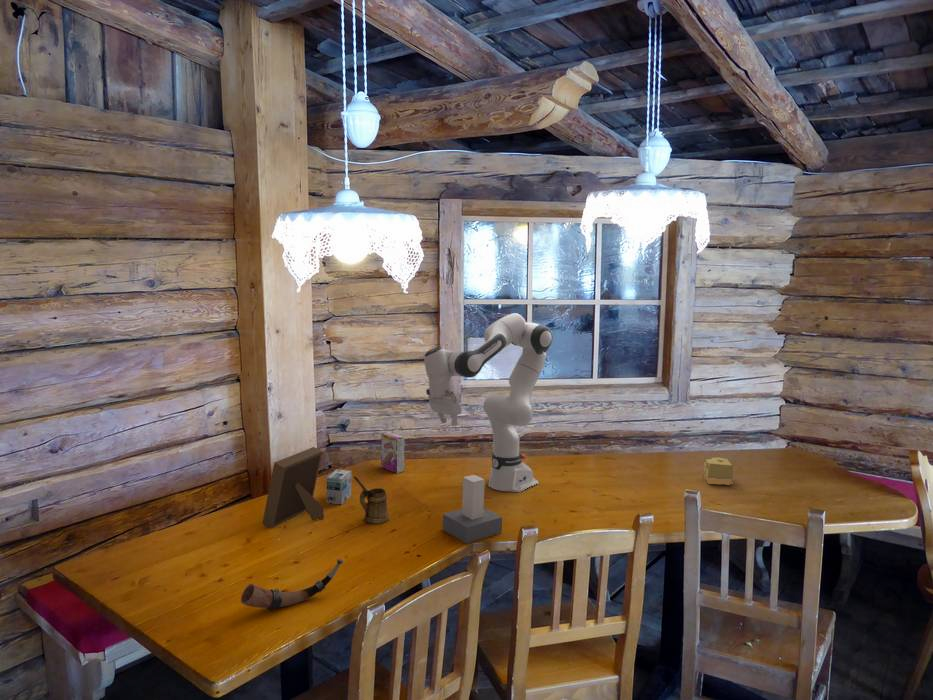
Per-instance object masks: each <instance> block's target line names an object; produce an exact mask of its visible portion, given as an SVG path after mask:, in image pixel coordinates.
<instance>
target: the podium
mask: <svg viewBox="0 0 933 700" xmlns="http://www.w3.org/2000/svg"><path fill="white" fill-rule="evenodd" d="M502 529H503V516H501V515H499V514H497V513H495V512H493V511H491V510H489V509H487V508H485V507H484V512H483V517H481V518H477V519H474V520H472V519H470V518H468V517H466V516H464V515H462V508H460V509H457V510H454V511H450V512H445V513H443V515H442V530H443V531H444V532H446V533H447V534H449V535H451V536H453V537H455V538H456V539H457V540H459V541H461V542H462V543H464V544H467V545H468V544H470V543H473V541H474V542H477V541H479V539H480V540H483V539H486V538H489V537H488V536H490V537H492V536H491V535H493V536H495V535H494V534H496V535H498V534H497V533H499V534H501V533H500V532H502ZM485 537H486V538H485ZM482 538H483V539H482ZM476 540H477V541H476Z"/></svg>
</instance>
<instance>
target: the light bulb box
mask: <svg viewBox="0 0 933 700" xmlns="http://www.w3.org/2000/svg"><path fill="white" fill-rule="evenodd" d="M350 496H351V497H352V470H346V469H338V468H336V469H335V470H334V471H332V473H330V474H329V475H328V476H327V477H326V504H330V503H332V504H333V505H339V504H342V505H343V504H344V503H345V502H347V501H348V500H349V499H350V498H351V497H350ZM349 497H350V498H349ZM348 498H349V499H348ZM347 499H348V500H347ZM332 504H331V505H332Z"/></svg>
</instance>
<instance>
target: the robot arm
mask: <svg viewBox="0 0 933 700" xmlns="http://www.w3.org/2000/svg"><path fill="white" fill-rule="evenodd" d="M483 338H484V341H485V342H484V343H482V345H480V346H478V347H477V348H476V349H474V350H467V351H454V350H449V349H445V348H443V347H439V346H438V347H435V348H431V349H429V350H428V351H426V352H425V353H424V357H423V358H424V360H423V361H424V368H425V372H426V376H427V377H428V385H429V387H428V388H426V389H425V393H426V395H427V396H428V402H429V406H430V409H431V410H432V412H435V413H437V415H438V417H439V419H440V422H441V424H446V423H447V422H448V421H447V417H445V415H448V416H450V418H451V421H450V422H451V425H452V427H456V426H458V416H459V415H462V411H463V410H462V407H461V406H462V405H461V403H460V400H459V397H458V395H457V394H456V393H454V392H455V391H454V387H453V381H452V377H464V378H469V379H470V378H474V377H476V376H477V375H479V373H480V372H481V370H482V369H483V367H484V365H485V364H486V363H487V362H489V361H490V360H492V358H494V357H495V356H497V354H499V353H500V352H501V351H503V349H505V348H507V347H508V346H509V345H514V346H518V347H520V348H522V352H521V355H520V357H519V358H518V360H517V362H516V364H515V366H514V367H513V369H512V372H511V373H510V375H509V378H508V384H509V386H510V393H509V395H504V394H501V393H493V394H490V395H488V396H487V397H486V398H485V399H484V402H483V411H484V412H485V414H486V415H487V417H488V420H489V422H490V426H491V430H492V436H493V438H492V439H493V445H492V447H493V448H492V449H493V450H492V453H491V469H490V476H489V479H488V483H487V486H488V487H489V488H490V487H491V488H490V489H493V490H495V491H498V492H499V491H501V492H512V493H513V492H514V493H520V492H521V493H522V492H523V491H526V490H527V488H528V489H530V488H532V487H531V486H533V487H534V485H535V486H537V485H539V481H538V480H537V479H536V478H534V473H533V471H532V469H531V467H530V466H528V465H526V463H524V462H523V460H526V459H527V455H526V454H524V453H522V454H520V435H519V434H518V432H517V430H516V429H515V427H526V426H528V425H529V424H531V422H532V419H533V417H534V410H533V407H532V405H531V401H532V400H531V399H532V393H533V390H534V388H535V386H536V383H537V382H538V379H539V377H540V375H541V373H542V371H543V368H544V365H545V363H546V359H547V353H546V352H547V351H548V350H549V348H550V347H551V345H552V342H553V332H552V330H551V329H550V328H549V327H548V326H545V325H543V324H539V323H535V322H527V321H526V319H525V318H524V317H523V316H522V315H521V314H519V313H516V312H513V313H509V314H506V315H505V316H502V317H501V318H499V319H497V320H496V321H494V322H492V323H491V324H490V325H488V327H486V329H485V330H484V332H483ZM536 484H537V485H536ZM529 487H530V488H529ZM525 489H526V490H525Z"/></svg>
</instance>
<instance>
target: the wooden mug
mask: <svg viewBox="0 0 933 700" xmlns="http://www.w3.org/2000/svg"><path fill="white" fill-rule="evenodd" d="M353 479H354V480H355V481H356V482H357V484H358V485H359V487H360V488H361V489H362V490H361V492H360V494H359V495H360V496H359V503H360V505H361V507H362V508H363V510H364V511H365V512H364V513H365V514H364V519H363V520H364V521H365V522H366V523H368V524H371V525H381V524H380V523H382V524H385V523H386V522H388V521H389V520H390V516H389V512H388V503H387V499H388V496H387V493H386V490H385V488H382V487H381V488H379V487H378V488H377V487H376V488H371V489H367V488H366V487H365V486H364V485H363V484H362V482H361V481H360V480H359V479H358V477H356V476H355V475H353ZM365 499H367V502H365ZM384 522H385V523H384Z"/></svg>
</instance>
